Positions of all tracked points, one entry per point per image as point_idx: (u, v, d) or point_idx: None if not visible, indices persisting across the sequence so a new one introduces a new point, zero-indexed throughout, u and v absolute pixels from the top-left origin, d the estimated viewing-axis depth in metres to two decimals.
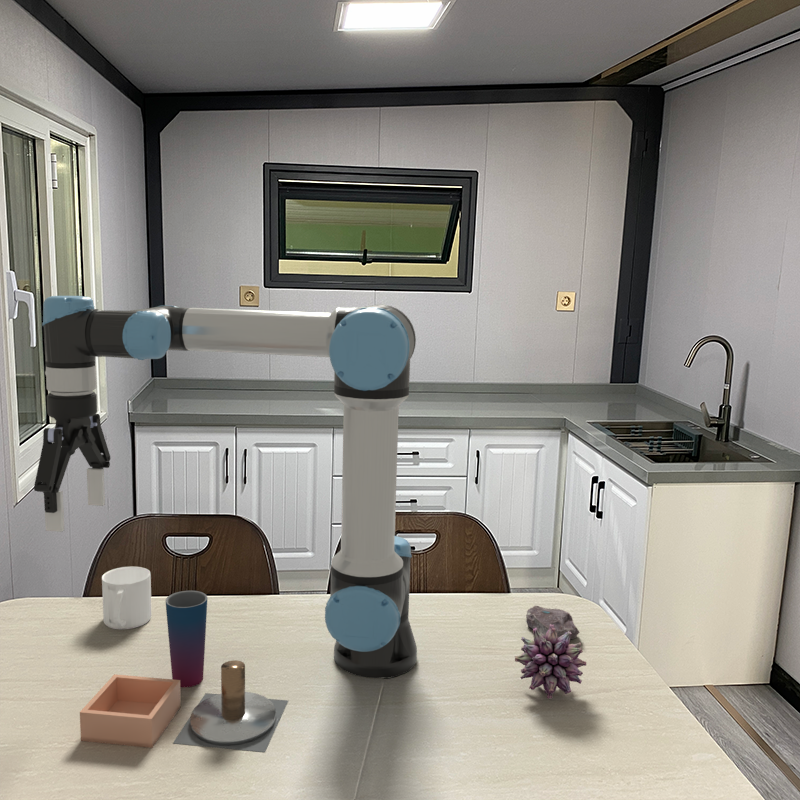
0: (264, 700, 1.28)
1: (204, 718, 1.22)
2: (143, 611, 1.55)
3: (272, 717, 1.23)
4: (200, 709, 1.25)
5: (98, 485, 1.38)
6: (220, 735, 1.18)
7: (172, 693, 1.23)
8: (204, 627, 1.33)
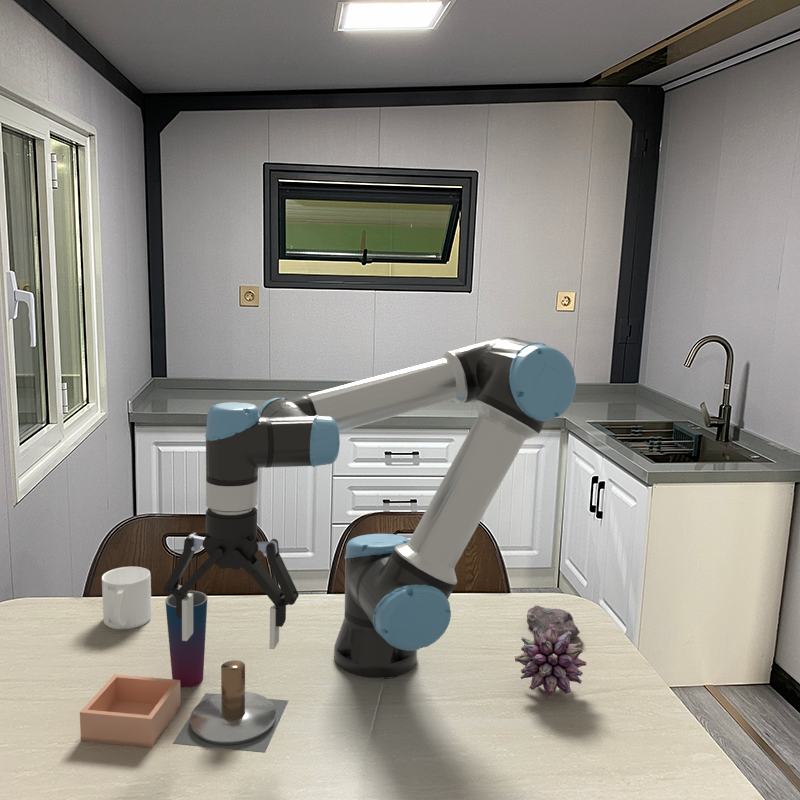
0: (264, 700, 1.28)
1: (204, 718, 1.22)
2: (143, 611, 1.55)
3: (272, 717, 1.23)
4: (200, 709, 1.25)
5: None
6: (220, 735, 1.18)
7: (172, 693, 1.23)
8: (204, 627, 1.33)
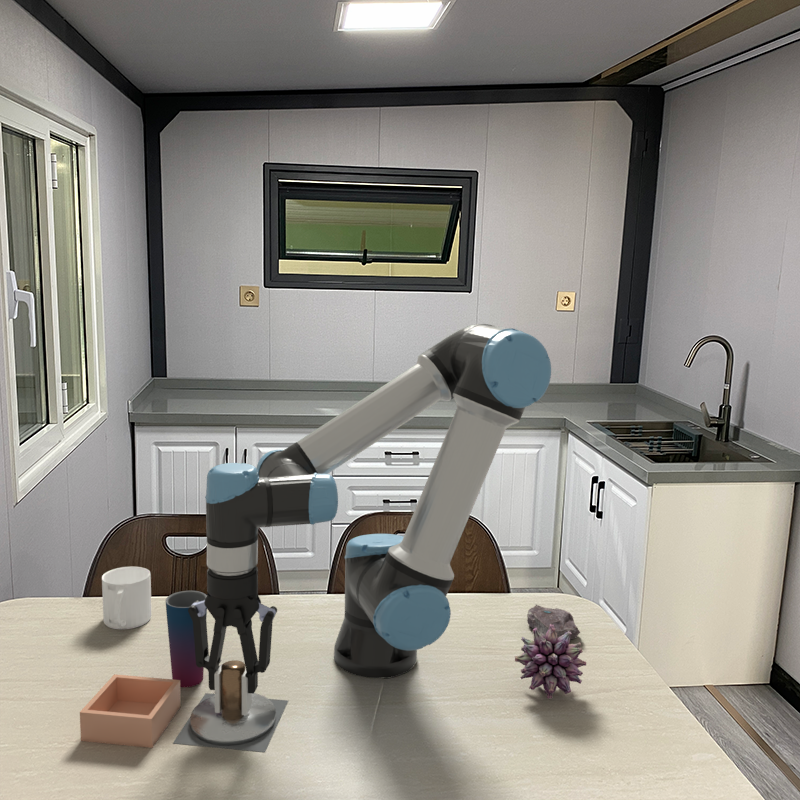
0: (264, 700, 1.28)
1: (204, 718, 1.22)
2: (143, 611, 1.55)
3: (272, 717, 1.23)
4: (200, 709, 1.25)
5: None
6: (220, 735, 1.18)
7: (172, 693, 1.23)
8: None
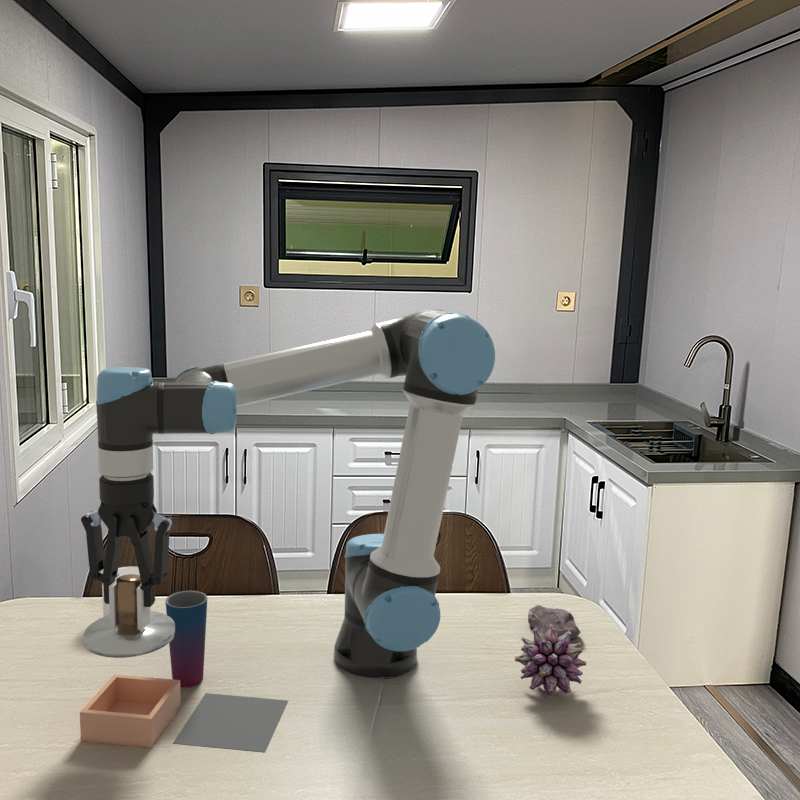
0: (165, 618, 1.24)
1: (99, 633, 1.18)
2: None
3: (170, 632, 1.19)
4: (97, 625, 1.21)
5: None
6: (111, 647, 1.14)
7: (172, 693, 1.23)
8: (204, 627, 1.33)
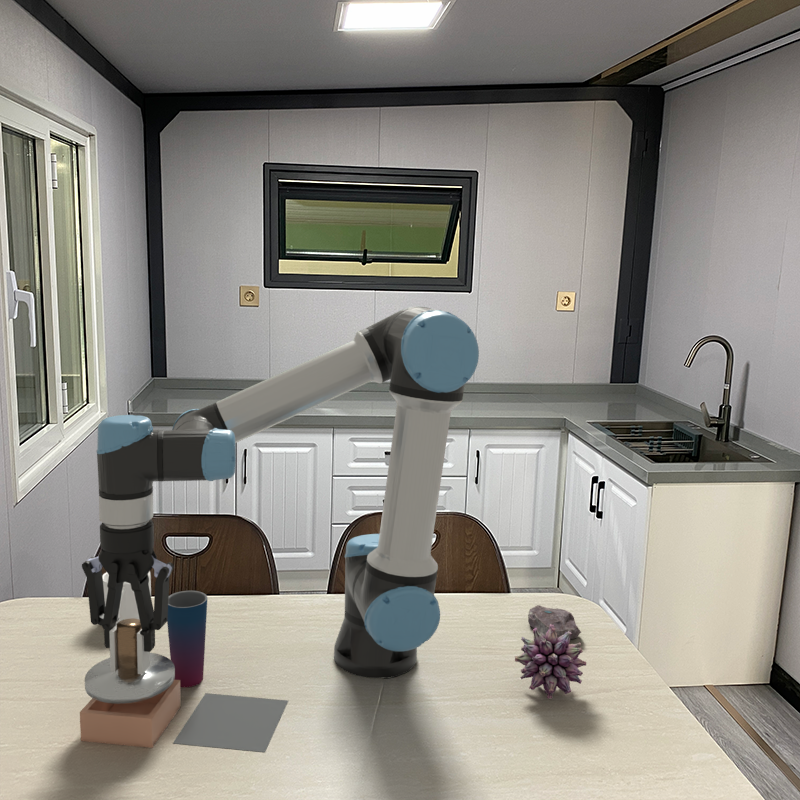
0: (165, 660, 1.25)
1: (99, 677, 1.19)
2: None
3: (169, 676, 1.20)
4: (97, 668, 1.22)
5: None
6: (111, 692, 1.15)
7: (172, 693, 1.23)
8: (204, 627, 1.33)
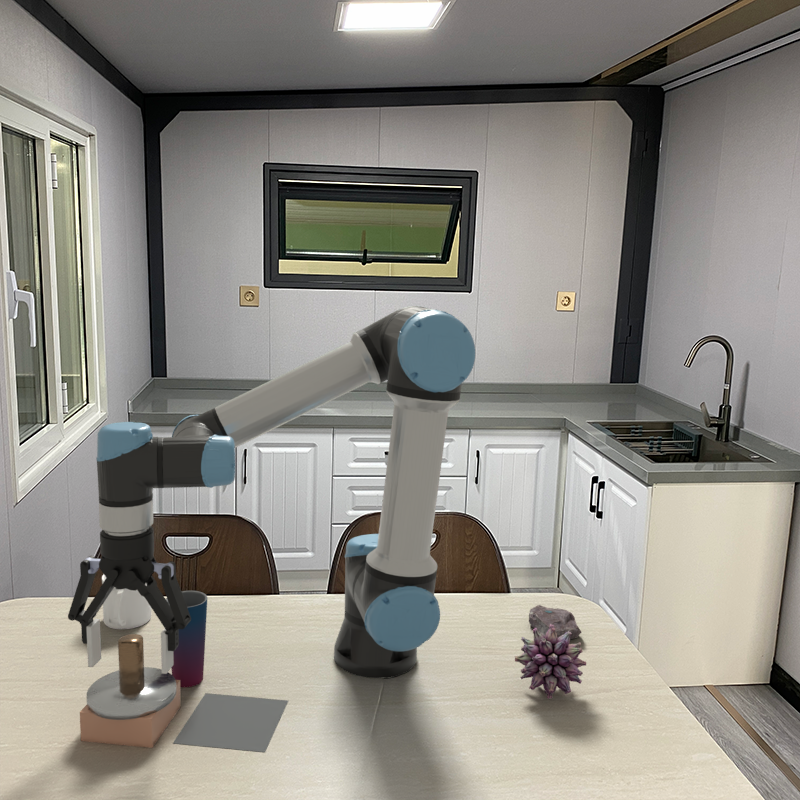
0: (166, 675, 1.25)
1: (101, 693, 1.20)
2: (143, 611, 1.55)
3: (171, 692, 1.21)
4: (99, 684, 1.22)
5: None
6: (113, 709, 1.16)
7: None
8: (204, 627, 1.33)
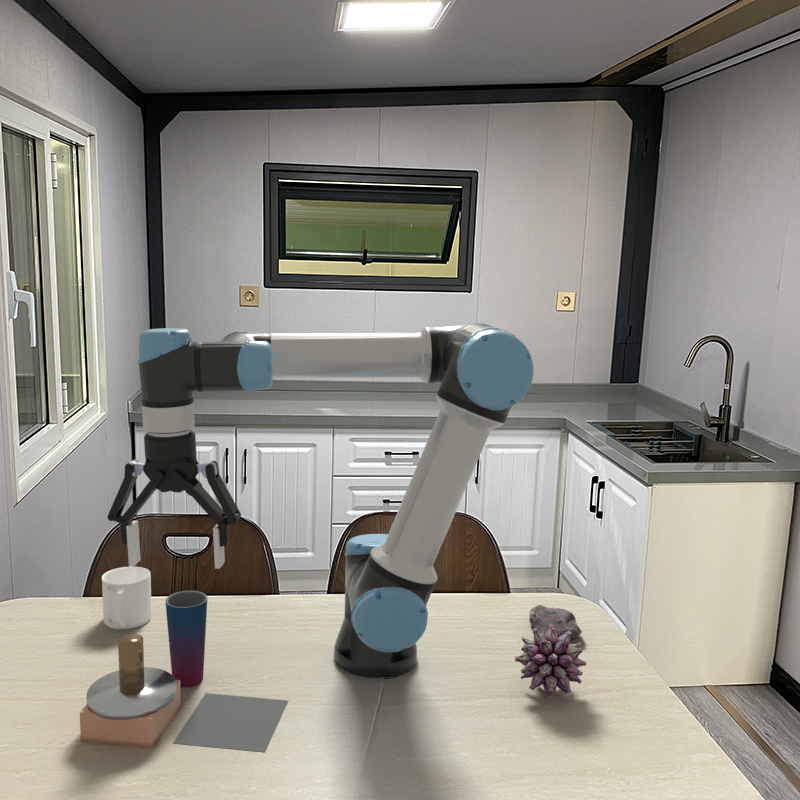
0: (166, 675, 1.25)
1: (101, 693, 1.20)
2: (143, 611, 1.55)
3: (171, 692, 1.21)
4: (99, 684, 1.22)
5: None
6: (113, 709, 1.16)
7: None
8: (204, 627, 1.33)
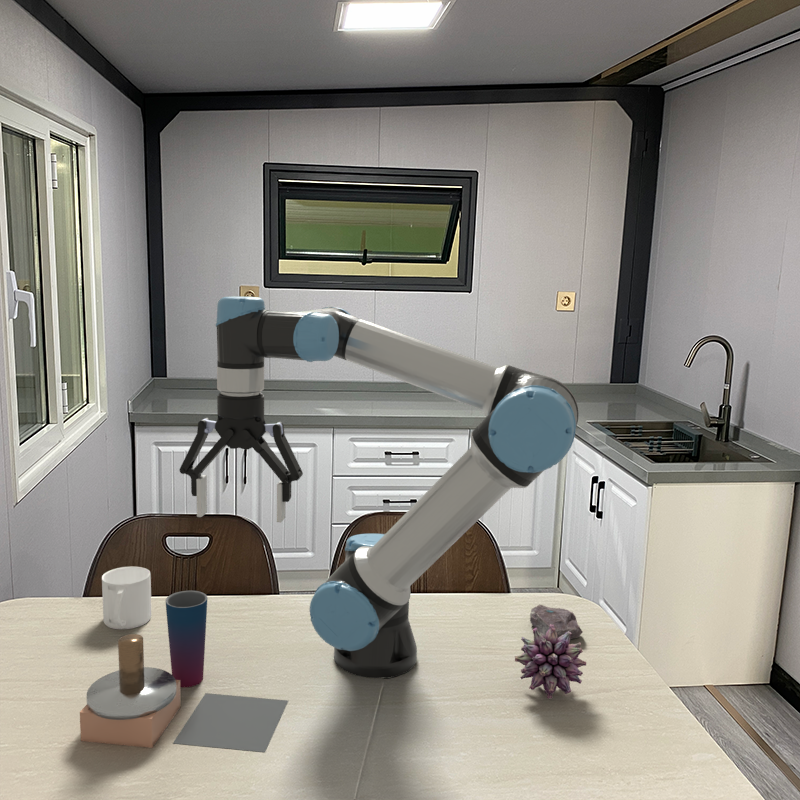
0: (166, 675, 1.25)
1: (101, 693, 1.20)
2: (143, 611, 1.55)
3: (171, 692, 1.21)
4: (99, 684, 1.22)
5: None
6: (113, 709, 1.16)
7: None
8: (204, 627, 1.33)
